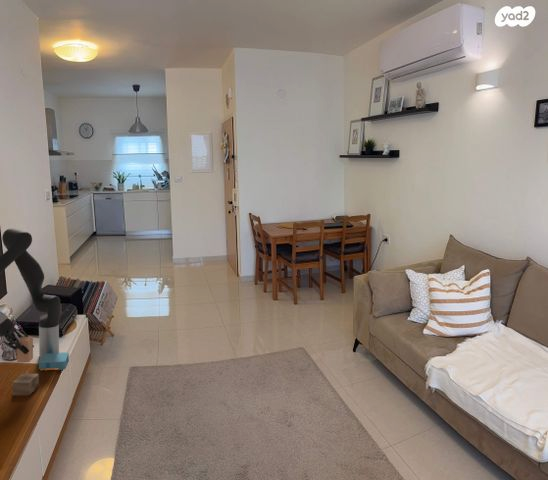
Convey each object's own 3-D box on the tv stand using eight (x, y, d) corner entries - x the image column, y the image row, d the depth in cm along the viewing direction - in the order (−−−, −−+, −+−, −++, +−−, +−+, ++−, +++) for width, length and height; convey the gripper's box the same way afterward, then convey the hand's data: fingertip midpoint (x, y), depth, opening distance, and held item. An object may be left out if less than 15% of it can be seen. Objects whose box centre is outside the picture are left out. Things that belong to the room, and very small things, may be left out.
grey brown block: (23, 385, 201) (22, 373, 200) (38, 386, 201) (38, 373, 200) (12, 395, 192) (12, 382, 191) (29, 395, 192) (29, 382, 191)
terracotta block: (17, 362, 192) (17, 340, 191) (22, 358, 196) (21, 336, 195) (28, 362, 193) (28, 340, 191) (32, 358, 197) (32, 336, 196)
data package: (38, 371, 215) (65, 370, 218) (38, 362, 215) (65, 361, 218) (43, 361, 227) (69, 360, 230) (43, 353, 226) (69, 352, 229)
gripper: (-2, 323, 184) (29, 350, 187) (13, 313, 198) (42, 338, 201) (-15, 335, 184) (16, 362, 187) (1, 324, 198) (30, 350, 201)
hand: (29, 350), depth 194 cm, fingers closed on terracotta block, 4 cm apart
